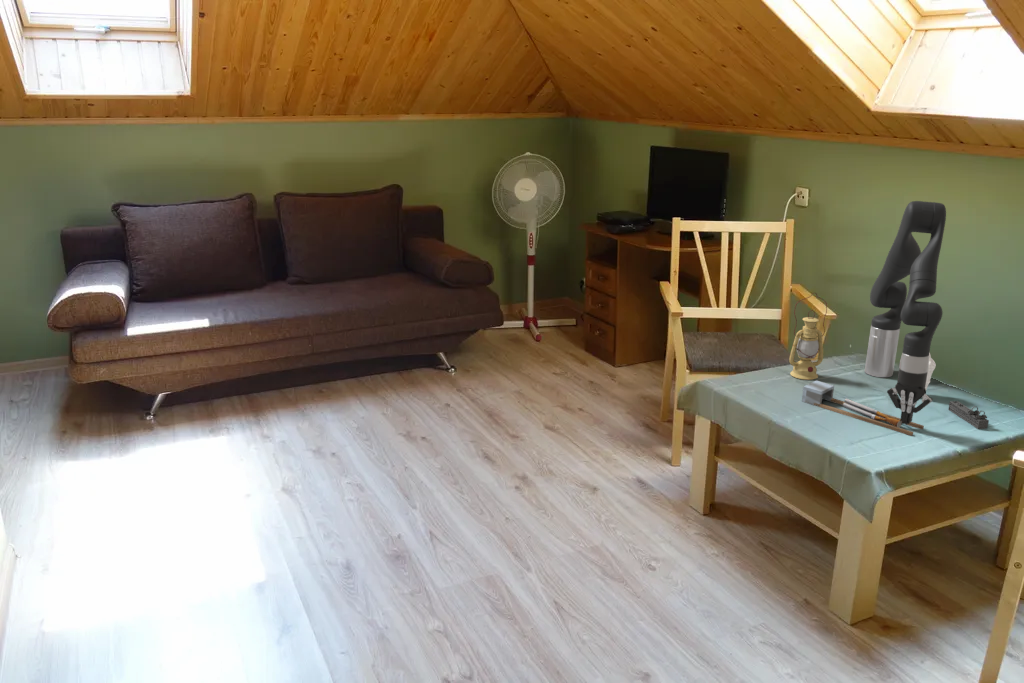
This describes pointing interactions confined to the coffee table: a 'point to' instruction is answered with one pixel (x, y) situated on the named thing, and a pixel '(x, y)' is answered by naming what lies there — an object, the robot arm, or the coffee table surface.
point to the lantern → (807, 348)
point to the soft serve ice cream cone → (930, 370)
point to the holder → (821, 390)
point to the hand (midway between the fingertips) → (905, 423)
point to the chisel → (887, 419)
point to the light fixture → (969, 415)
